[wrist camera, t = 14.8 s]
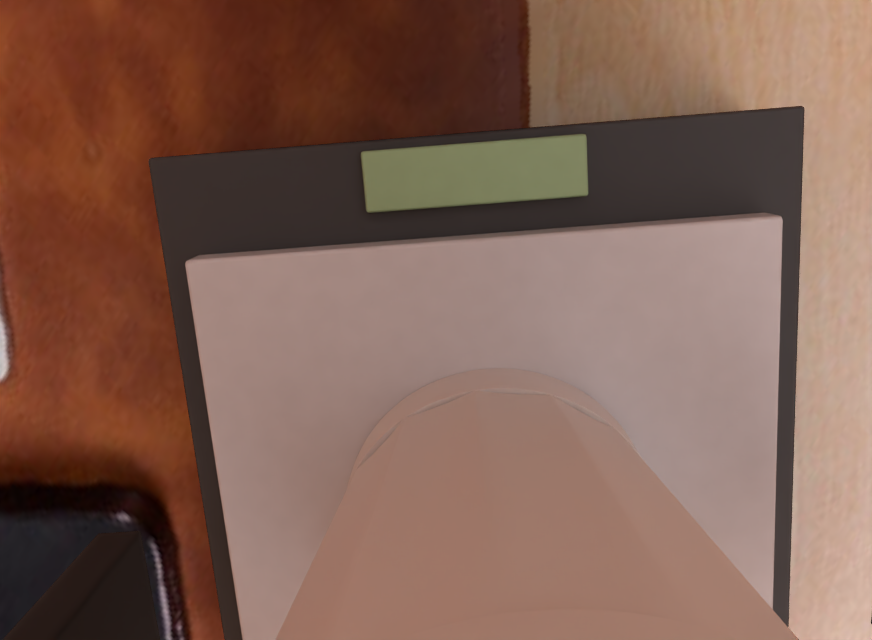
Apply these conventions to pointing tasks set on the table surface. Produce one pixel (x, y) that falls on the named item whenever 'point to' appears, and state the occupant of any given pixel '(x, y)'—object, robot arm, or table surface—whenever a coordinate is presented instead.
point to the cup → (516, 530)
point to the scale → (487, 315)
